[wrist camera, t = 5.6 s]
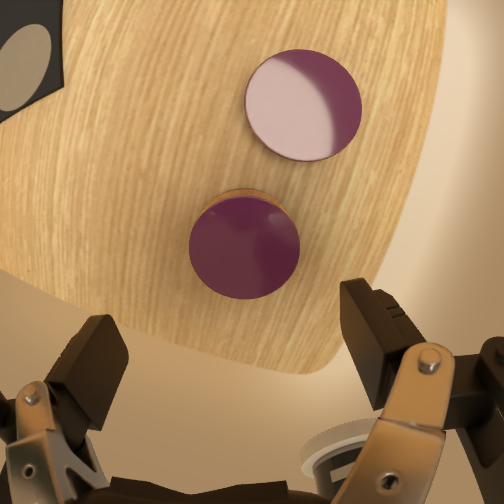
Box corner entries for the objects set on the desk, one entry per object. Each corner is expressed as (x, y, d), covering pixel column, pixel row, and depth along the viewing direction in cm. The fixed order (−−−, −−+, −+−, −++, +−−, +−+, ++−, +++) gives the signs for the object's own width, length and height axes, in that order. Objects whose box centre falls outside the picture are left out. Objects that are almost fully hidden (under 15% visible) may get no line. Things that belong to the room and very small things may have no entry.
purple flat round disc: (297, 271, 19) (303, 291, 16) (207, 283, 19) (201, 305, 17) (287, 180, 17) (294, 188, 14) (187, 195, 17) (178, 206, 14)
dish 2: (351, 153, 16) (368, 157, 14) (252, 164, 16) (253, 169, 14) (338, 59, 14) (352, 48, 11) (237, 67, 14) (236, 55, 12)
